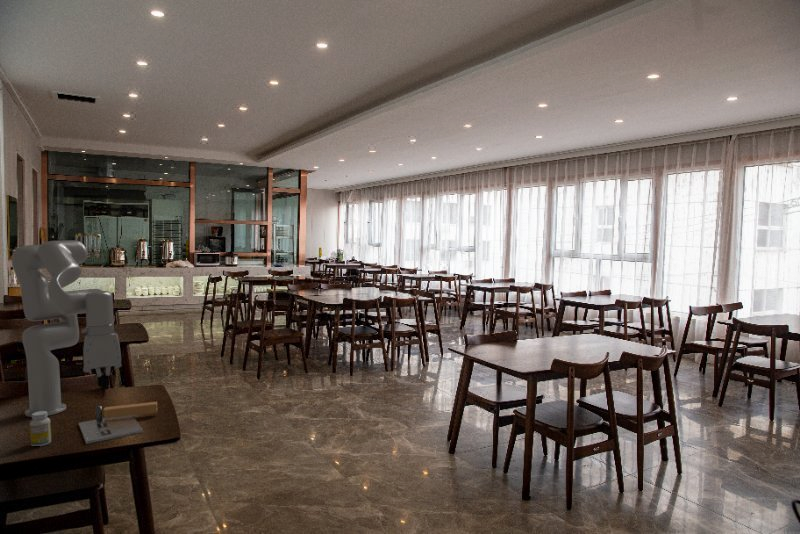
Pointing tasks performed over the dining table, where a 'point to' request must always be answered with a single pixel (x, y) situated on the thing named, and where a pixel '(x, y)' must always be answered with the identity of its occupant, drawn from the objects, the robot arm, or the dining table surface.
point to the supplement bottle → (40, 429)
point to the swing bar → (130, 410)
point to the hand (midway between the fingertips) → (103, 387)
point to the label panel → (108, 427)
